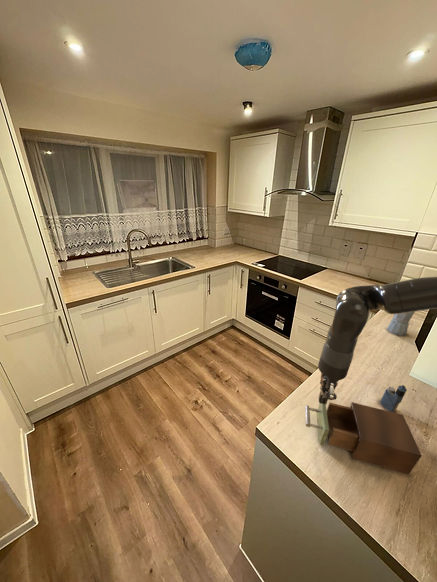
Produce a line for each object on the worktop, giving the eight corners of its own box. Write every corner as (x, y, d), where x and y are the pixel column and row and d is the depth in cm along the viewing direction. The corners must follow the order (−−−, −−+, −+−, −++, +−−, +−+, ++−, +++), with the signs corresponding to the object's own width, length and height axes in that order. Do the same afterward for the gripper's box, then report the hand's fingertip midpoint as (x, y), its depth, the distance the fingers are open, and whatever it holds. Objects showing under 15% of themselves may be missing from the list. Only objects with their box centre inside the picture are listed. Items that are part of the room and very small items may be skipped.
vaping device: (392, 414, 83) (405, 390, 78) (378, 402, 87) (389, 379, 82) (396, 412, 84) (409, 388, 79) (382, 400, 88) (393, 376, 83)
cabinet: (352, 458, 69) (361, 438, 65) (344, 420, 80) (351, 402, 76) (408, 475, 66) (422, 455, 62) (392, 433, 77) (402, 414, 73)
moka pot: (378, 329, 132) (391, 297, 123) (397, 324, 137) (410, 293, 129) (395, 338, 124) (410, 306, 115) (414, 333, 129) (429, 301, 121)
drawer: (303, 439, 73) (308, 424, 70) (302, 409, 83) (306, 394, 80) (368, 458, 68) (376, 443, 65) (359, 423, 78) (365, 409, 75)
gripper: (356, 378, 58) (338, 424, 65) (346, 346, 69) (332, 388, 77) (323, 371, 60) (310, 417, 67) (319, 341, 71) (308, 382, 79)
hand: (322, 401), depth 72 cm, fingers closed
